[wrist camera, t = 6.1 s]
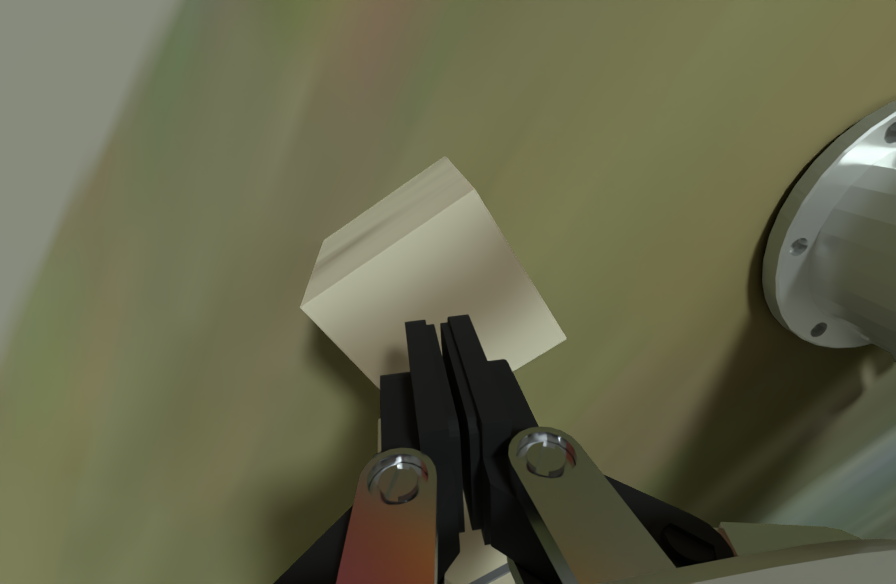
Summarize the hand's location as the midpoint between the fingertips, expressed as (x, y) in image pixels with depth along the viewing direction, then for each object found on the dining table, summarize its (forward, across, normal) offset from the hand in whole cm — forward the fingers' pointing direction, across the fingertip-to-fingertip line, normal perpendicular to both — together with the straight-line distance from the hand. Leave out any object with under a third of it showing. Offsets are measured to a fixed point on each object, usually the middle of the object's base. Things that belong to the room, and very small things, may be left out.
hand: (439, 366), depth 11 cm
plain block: (+8, 0, 0) cm, 8 cm away
